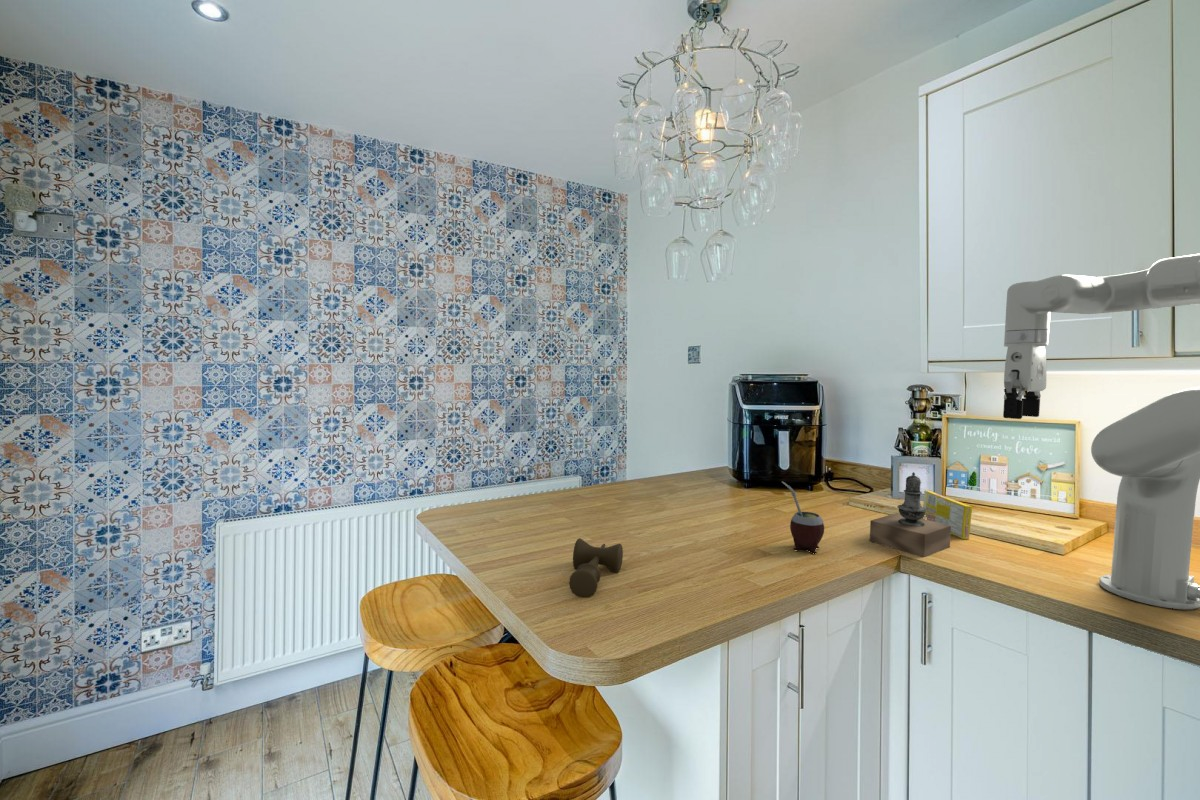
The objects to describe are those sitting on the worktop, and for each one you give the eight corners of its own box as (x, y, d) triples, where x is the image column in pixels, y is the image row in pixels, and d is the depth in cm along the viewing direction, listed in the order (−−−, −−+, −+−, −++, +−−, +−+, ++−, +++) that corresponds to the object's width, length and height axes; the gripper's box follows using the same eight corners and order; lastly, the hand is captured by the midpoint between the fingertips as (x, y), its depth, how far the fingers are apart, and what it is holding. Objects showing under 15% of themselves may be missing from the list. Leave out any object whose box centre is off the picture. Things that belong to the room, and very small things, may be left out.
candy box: (971, 540, 123) (972, 506, 123) (962, 539, 123) (963, 506, 123) (929, 519, 139) (930, 489, 139) (921, 519, 139) (922, 489, 139)
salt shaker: (930, 528, 116) (932, 475, 115) (901, 525, 117) (903, 473, 116) (920, 520, 121) (923, 470, 120) (893, 518, 123) (895, 468, 122)
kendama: (555, 598, 91) (582, 555, 111) (608, 605, 89) (626, 560, 109) (556, 566, 91) (582, 528, 110) (609, 572, 89) (627, 533, 108)
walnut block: (949, 547, 118) (950, 525, 117) (924, 557, 111) (925, 534, 111) (896, 532, 128) (896, 512, 127) (869, 541, 121) (870, 520, 121)
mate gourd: (830, 553, 113) (832, 486, 112) (799, 556, 111) (801, 488, 110) (808, 542, 120) (810, 479, 119) (778, 545, 118) (780, 480, 117)
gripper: (1032, 337, 104) (1027, 420, 105) (1061, 340, 114) (1056, 417, 115) (989, 338, 111) (984, 417, 112) (1020, 341, 120) (1015, 414, 121)
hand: (1021, 417), depth 113 cm, fingers open, 9 cm apart
